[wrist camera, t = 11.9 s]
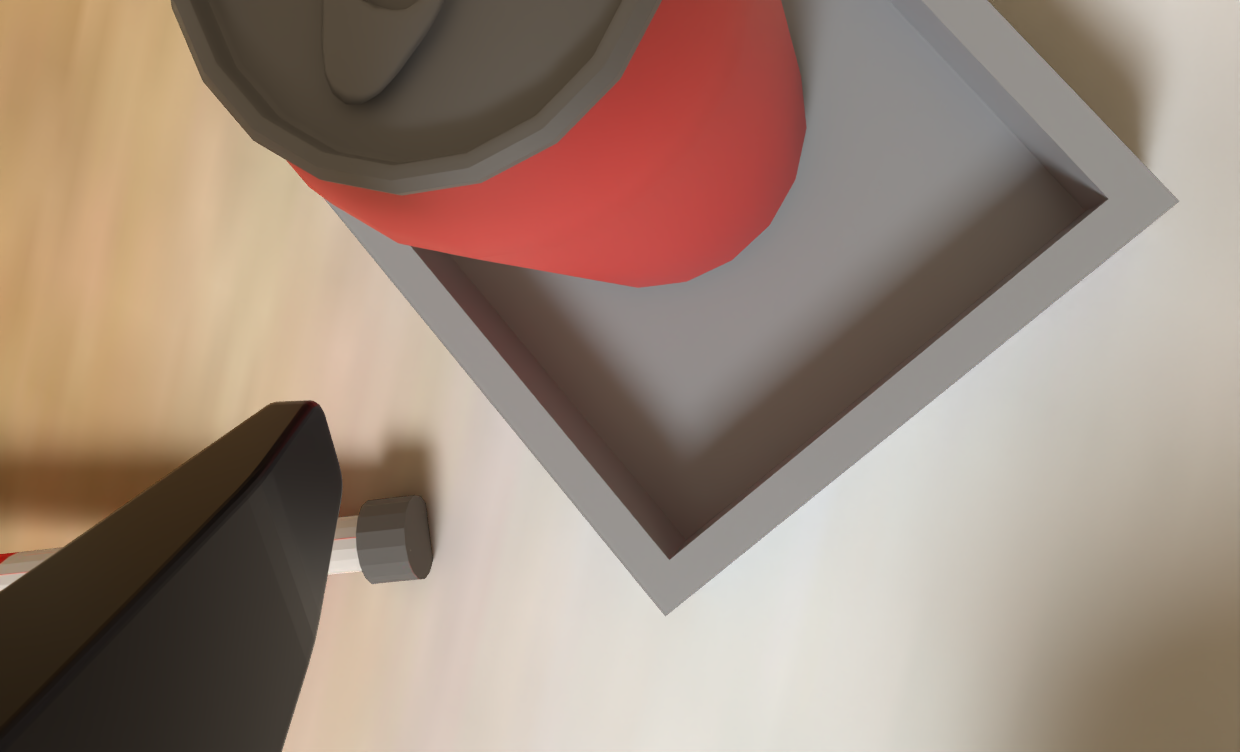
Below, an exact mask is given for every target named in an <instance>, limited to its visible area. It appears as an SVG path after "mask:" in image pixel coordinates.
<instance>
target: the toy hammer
mask: <svg viewBox="0 0 1240 752" xmlns="http://www.w3.org/2000/svg"><path fill="white" fill-rule="evenodd" d="M60 549H62V548H53V549H44V550H35V551H26V552H17V553H7V554H0V591H1V590H3V589H4V588H6V587H7V586H8V585H10V584H11V583H13V582H14V581H16V580H17V579H19V578H20V577H21V576H23V575H24V574H26V573H27V572H29V571H30V570H31V569H33V568H34V567H36V566H37V565H39V564H40V563H42V562H43V561H44V560H46V559H47V558H49V557H50V556H52V555H53V554H54V553H56V552H57V551H59V550H60ZM432 562H433V558H432V550H431V542H430V534H429V527H428V519H427V511H426V503H425V502H424V500H423V499H422V498H421V497H420V496H415V495H413V496H404V497H395V498H386V499H377V500H368V501H367V502H366V503H365V504H364V505H363V506H362V507H361V510H360V513H359V515H356V516H347V517H339V518H338V521H337V526H336V532H335V538H334V543H333V549H332V554H331V560H330V565H329V571H328V575H329V574H339V573H350V572H360V571H362V572H363V574H364V576H365V578H366V579H367V580H368V581H369V582H370V583H371V584H376V583H386V582H396V581H406V580H416V579H425V578H426V577H427V575H428V574H429V572H430V569H431V566H432Z"/></svg>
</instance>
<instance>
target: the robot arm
mask: <svg viewBox="0 0 1240 752" xmlns="http://www.w3.org/2000/svg"><path fill="white" fill-rule="evenodd" d="M341 498H342V475H341V470H340V466H339V462H338V459H337V455H336V452H335V448H334V445H333V441H332V438H331V434H330V431H329V427H328V424H327V420H326V417H325V414H324V412H323V410H322V408H321V407H320V405H319V404H317V403H316V402H314V401H285V402H274V403H270V404H269V405H267V406H266V407H264V408H263V409H261V410H260V411H258V412H257V413H256V414H254V415H253V416H251V417H250V418H248V419H247V420H245V421H244V422H243V423H241V424H240V425H238V426H237V427H235V428H234V429H233V430H231V431H230V432H228V433H227V434H225V435H224V436H223V437H221V438H220V439H218V440H217V441H215V442H214V443H212V444H211V445H210V446H208V447H207V448H205V449H204V450H202V451H201V452H200V453H198V454H197V455H195V456H194V457H192V458H191V459H190V460H188V461H187V462H185V463H184V464H182V465H181V466H179V467H178V468H177V469H175V470H174V471H172V472H171V473H169V474H168V475H167V476H165V477H164V478H162V479H161V480H159V481H158V482H156V483H155V484H154V485H152V486H151V487H149V488H148V489H146V490H145V491H144V492H142V493H141V494H139V495H138V496H136V497H135V498H133V499H132V500H131V501H129V502H128V503H126V504H125V505H123V506H122V507H121V508H119V509H118V510H116V511H115V512H113V513H112V514H110V515H109V516H108V517H106V518H105V519H103V520H102V521H100V522H99V523H98V524H96V525H95V526H93V527H92V528H90V529H89V530H87V531H86V532H85V533H83V534H82V535H80V536H79V537H77V538H76V539H75V540H73V541H72V542H70V543H69V544H67V545H66V546H65V547H63V548H62V549H60V550H59V551H57V552H56V553H54V554H53V555H52V556H50V557H49V558H47V559H46V560H44V561H43V562H42V563H40V564H39V565H37V566H36V567H34V568H33V569H31V570H30V571H29V572H27V573H26V574H24V575H23V576H21V577H20V578H19V579H17V580H16V581H14V582H13V583H11V584H10V585H8V586H7V587H6V588H4V589H3V590H1V591H0V752H282V749H283V746H284V743H285V740H286V736H287V733H288V730H289V727H290V723H291V720H292V717H293V714H294V710H295V707H296V704H297V701H298V698H299V694H300V691H301V688H302V685H303V681H304V678H305V675H306V672H307V668H308V665H309V661H310V658H311V654H312V651H313V647H314V644H315V640H316V635H317V630H318V625H319V620H320V615H321V610H322V604H323V599H324V593H325V588H326V582H327V576H328V571H329V565H330V560H331V554H332V549H333V543H334V538H335V532H336V526H337V521H338V515H339V510H340V504H341Z"/></svg>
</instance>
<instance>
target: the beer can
mask: <svg viewBox="0 0 1240 752" xmlns="http://www.w3.org/2000/svg"><path fill="white" fill-rule="evenodd" d="M171 5H172V9H173V12H174V14H175V16H176V19H177V21H178V23H179V26H180V28H181V31H182V33H183V35H184V38H185V40H186V42H187V45H188V47H189V50H190V52H191V54H192V57H193V59H194V61H195V64H196V66H197V68H198V71H199V73H200V76H201V78H202V80H203V82H204V83H205V84H206V86H207V87H208V88H209V89H210V90H211V91H212V93H213V94H214V95H215V96H216V97H217V98H218V100H219V101H220V102H221V103H222V104H223V105H224V107H225V108H226V109H227V110H228V111H229V112H230V114H231V115H232V116H233V117H234V118H235V120H236V121H237V122H238V123H239V124H240V125H241V127H242V128H243V129H244V130H245V131H246V132H247V134H248V135H249V136H250V137H251V138H252V139H253V141H255V142H257V143H258V144H260V145H262V146H264V147H265V148H267V149H269V150H270V151H272V152H274V153H275V154H277V155H279V156H280V157H282V158H284V159H286V160H287V162H288V163H289V164H290V165H291V166H292V167H293V169H294V170H295V171H296V172H297V173H298V175H299V176H300V177H301V178H302V179H303V180H304V182H305V183H306V184H307V185H308V186H309V187H310V188H311V189H313V190H314V191H315V192H317V193H318V194H319V195H321V196H322V197H323V198H325V199H326V200H327V201H329V202H330V203H331V204H333V205H335V206H336V207H338V208H340V209H341V210H343V211H345V212H346V213H348V214H350V215H351V216H353V217H355V218H356V219H358V220H360V221H361V222H363V223H365V224H367V225H368V226H370V227H372V228H373V229H375V230H377V231H378V232H380V233H382V234H383V235H385V236H387V237H388V238H390V239H392V240H393V241H395V242H397V243H399V244H404V245H409V246H414V247H419V248H424V249H429V250H434V251H438V252H443V253H448V254H453V255H458V256H463V257H468V258H473V259H479V260H484V261H490V262H496V263H501V264H507V265H512V266H518V267H524V268H529V269H535V270H540V271H546V272H552V273H557V274H563V275H569V276H574V277H580V278H585V279H591V280H597V281H602V282H608V283H613V284H619V285H625V286H630V287H636V288H641V287H649V286H657V285H665V284H673V283H681V282H687V281H689V280H691V279H693V278H696V277H698V276H700V275H702V274H704V273H706V272H708V271H710V270H713V269H715V268H717V267H719V266H721V265H723V264H725V263H727V262H729V261H732V260H733V259H734V258H735V257H736V256H737V255H738V254H739V253H740V252H741V251H743V250H744V249H745V248H746V247H747V246H748V245H749V244H750V243H751V242H752V241H753V240H754V239H755V238H756V237H758V236H759V235H760V234H761V233H762V232H763V231H764V230H765V229H766V228H767V227H768V226H769V225H770V224H771V222H772V220H773V219H774V217H775V215H776V213H777V211H778V210H779V208H780V206H781V204H782V203H783V201H784V199H785V197H786V196H787V194H788V192H789V190H790V189H791V187H792V185H793V183H794V181H795V180H796V175H797V171H798V166H799V161H800V157H801V152H802V147H803V142H804V138H805V133H806V128H807V127H806V118H805V108H804V99H803V90H802V80H801V74H800V70H799V66H798V63H797V59H796V55H795V51H794V47H793V44H792V40H791V36H790V32H789V28H788V25H787V21H786V17H785V13H784V9H783V6H782V2H781V0H171Z"/></svg>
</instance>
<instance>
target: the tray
mask: <svg viewBox="0 0 1240 752" xmlns="http://www.w3.org/2000/svg"><path fill="white" fill-rule="evenodd" d="M781 2H782V6H783V9H784V13H785V17H786V21H787V25H788V28H789V32H790V36H791V40H792V44H793V47H794V51H795V55H796V59H797V63H798V66H799V70H800V74H801V80H802V90H803V99H804V108H805V118H806V127H807V128H806V133H805V138H804V142H803V147H802V152H801V157H800V161H799V166H798V171H797V175H796V180H795V181H794V183H793V185H792V187H791V189H790V190H789V192H788V194H787V196H786V197H785V199H784V201H783V203H782V204H781V206H780V208H779V210H778V211H777V213H776V215H775V217H774V219H773V220H772V222H771V224H770V225H769V226H768V227H767V228H766V229H765V230H764V231H763V232H762V233H761V234H760V235H759V236H758V237H756V238H755V239H754V240H753V241H752V242H751V243H750V244H749V245H748V246H747V247H746V248H745V249H744V250H743V251H741V252H740V253H739V254H738V255H737V256H736V257H735V258H734V259H733V260H732V261H729V262H727V263H725V264H723V265H721V266H719V267H717V268H715V269H713V270H710V271H708V272H706V273H704V274H702V275H700V276H698V277H696V278H693V279H691V280H689V281H687V282H681V283H673V284H665V285H657V286H649V287H641V288H636V287H630V286H625V285H619V284H613V283H608V282H602V281H597V280H591V279H585V278H580V277H574V276H569V275H563V274H557V273H552V272H546V271H540V270H535V269H529V268H524V267H518V266H512V265H507V264H501V263H496V262H490V261H484V260H479V259H473V258H468V257H463V256H458V255H453V254H448V253H443V252H438V251H434V250H429V249H424V248H419V247H414V246H409V245H404V244H399V243H397V242H395V241H393V240H392V239H390V238H388V237H387V236H385V235H383V234H382V233H380V232H378V231H377V230H375V229H373V228H372V227H370V226H368V225H367V224H365V223H363V222H361V221H360V220H358V219H356V218H355V217H353V216H351V215H350V214H348V213H346V212H345V211H343V210H341V209H340V208H338V207H336V206H335V205H333V204H331V203H330V202H329V201H327V200H326V199H325V198H324V199H325V200H326V201H327V203H328V204H329V205H330V206H331V208H332V209H333V210H334V211H335V212H336V214H337V215H338V216H339V217H340V219H341V220H342V221H343V222H344V223H345V225H346V226H347V227H348V228H349V230H350V231H351V232H352V233H353V234H354V236H355V237H356V238H357V239H358V241H359V242H360V243H361V244H362V246H363V247H364V248H365V249H366V250H367V252H368V253H369V254H370V255H371V257H372V258H373V259H374V260H375V261H376V263H377V264H378V265H379V266H380V268H381V269H382V270H383V271H384V272H385V274H386V275H387V276H388V277H389V279H390V280H391V281H392V282H393V283H394V285H395V286H396V287H397V288H398V290H399V291H400V292H401V293H402V294H403V296H404V297H405V298H406V299H407V301H408V302H409V303H410V304H411V306H412V307H413V308H414V309H415V310H416V312H417V313H418V314H419V315H420V317H421V318H422V319H423V320H424V321H425V323H426V324H427V325H428V326H429V328H430V329H431V330H432V331H433V332H434V334H435V335H436V336H437V337H438V339H439V340H440V341H441V342H442V343H443V345H444V346H445V347H446V348H447V350H448V351H449V352H450V353H451V354H452V356H453V357H454V358H455V359H456V361H457V362H458V363H459V364H460V366H461V367H462V368H463V369H464V370H465V372H466V373H467V374H468V375H469V377H470V378H471V379H472V380H473V381H474V383H475V384H476V385H477V386H478V388H479V389H480V390H481V391H482V392H483V394H484V395H485V396H486V397H487V399H488V400H489V401H490V402H491V403H492V405H493V406H494V407H495V408H496V410H497V411H498V412H499V413H500V415H501V416H502V417H503V418H504V419H505V421H506V422H507V423H508V424H509V426H510V427H511V428H512V429H513V430H514V432H515V433H516V434H517V435H518V437H519V438H520V439H521V440H522V441H523V443H524V444H525V445H526V446H527V448H528V449H529V450H530V451H531V452H532V454H533V455H534V456H535V457H536V459H537V460H538V461H539V462H540V463H541V465H542V466H543V467H544V468H545V470H546V471H547V472H548V473H549V475H550V476H551V477H552V478H553V479H554V481H555V482H556V483H557V484H558V486H559V487H560V488H561V489H562V490H563V492H564V493H565V494H566V495H567V497H568V498H569V499H570V500H571V501H572V503H573V504H574V505H575V506H576V508H577V509H578V510H579V511H580V512H581V514H582V515H583V516H584V517H585V519H586V520H587V521H588V522H589V523H590V525H591V526H592V527H593V528H594V530H595V531H596V532H597V533H598V535H599V536H600V537H601V538H602V539H603V541H604V542H605V543H606V544H607V546H608V547H609V548H610V549H611V550H612V552H613V553H614V554H615V555H616V557H617V558H618V559H619V560H620V561H621V563H622V564H623V565H624V566H625V568H626V569H627V570H628V571H629V572H630V574H631V575H632V576H633V577H634V579H635V580H636V581H637V582H638V583H639V585H640V586H641V587H642V588H643V590H644V591H645V592H646V593H647V595H648V596H649V597H650V598H651V599H652V601H653V602H654V603H655V604H656V606H657V607H658V608H659V609H660V610H661V612H662V613H663V614H664V615H665V616H666V615H668V614H669V613H670V612H671V611H673V610H674V609H675V608H676V607H678V606H679V605H680V604H681V603H683V602H684V601H685V600H686V599H688V598H689V597H690V596H691V595H692V594H694V593H695V592H696V591H697V590H699V589H700V588H701V587H702V586H704V585H705V584H706V583H707V582H709V581H710V580H711V579H712V578H714V577H715V576H716V575H717V574H718V573H720V572H721V571H722V570H723V569H725V568H726V567H727V566H728V565H730V564H731V563H732V562H733V561H735V560H736V559H737V558H738V557H740V556H741V555H742V554H743V553H744V552H746V551H747V550H748V549H749V548H751V547H752V546H753V545H754V544H756V543H757V542H758V541H759V540H761V539H762V538H763V537H764V536H766V535H767V534H768V533H769V532H770V531H772V530H773V529H774V528H775V527H777V526H778V525H779V524H780V523H782V522H783V521H784V520H785V519H787V518H788V517H789V516H790V515H792V514H793V513H794V512H795V511H796V510H798V509H799V508H800V507H801V506H803V505H804V504H805V503H806V502H808V501H809V500H810V499H811V498H813V497H814V496H815V495H816V494H818V493H819V492H820V491H821V490H822V489H824V488H825V487H826V486H827V485H829V484H830V483H831V482H832V481H834V480H835V479H836V478H837V477H839V476H840V475H841V474H842V473H844V472H845V471H846V470H847V469H848V468H850V467H851V466H852V465H853V464H855V463H856V462H857V461H858V460H860V459H861V458H862V457H863V456H865V455H866V454H867V453H868V452H870V451H871V450H872V449H873V448H874V447H876V446H877V445H878V444H879V443H881V442H882V441H883V440H884V439H886V438H887V437H888V436H889V435H891V434H892V433H893V432H894V431H896V430H897V429H898V428H899V427H900V426H902V425H903V424H904V423H905V422H907V421H908V420H909V419H910V418H912V417H913V416H914V415H915V414H917V413H918V412H919V411H920V410H922V409H923V408H924V407H925V406H926V405H928V404H929V403H930V402H931V401H933V400H934V399H935V398H936V397H938V396H939V395H940V394H941V393H943V392H944V391H945V390H946V389H948V388H949V387H950V386H951V385H952V384H954V383H955V382H956V381H957V380H959V379H960V378H961V377H962V376H964V375H965V374H966V373H967V372H969V371H970V370H971V369H972V368H974V367H975V366H976V365H977V364H978V363H980V362H981V361H982V360H983V359H985V358H986V357H987V356H988V355H990V354H991V353H992V352H993V351H995V350H996V349H997V348H998V347H1000V346H1001V345H1002V344H1003V343H1004V342H1006V341H1007V340H1008V339H1009V338H1011V337H1012V336H1013V335H1014V334H1016V333H1017V332H1018V331H1019V330H1021V329H1022V328H1023V327H1024V326H1026V325H1027V324H1028V323H1029V322H1030V321H1032V320H1033V319H1034V318H1035V317H1037V316H1038V315H1039V314H1040V313H1042V312H1043V311H1044V310H1045V309H1047V308H1048V307H1049V306H1050V305H1052V304H1053V303H1054V302H1055V301H1056V300H1058V299H1059V298H1060V297H1061V296H1063V295H1064V294H1065V293H1066V292H1068V291H1069V290H1070V289H1071V288H1073V287H1074V286H1075V285H1076V284H1078V283H1079V282H1080V281H1081V280H1082V279H1084V278H1085V277H1086V276H1087V275H1089V274H1090V273H1091V272H1092V271H1094V270H1095V269H1096V268H1097V267H1099V266H1100V265H1101V264H1102V263H1104V262H1105V261H1106V260H1107V259H1108V258H1110V257H1111V256H1112V255H1113V254H1115V253H1116V252H1117V251H1118V250H1120V249H1121V248H1122V247H1123V246H1125V245H1126V244H1127V243H1128V242H1130V241H1131V240H1132V239H1133V238H1134V237H1136V236H1137V235H1138V234H1139V233H1141V232H1142V231H1143V230H1144V229H1146V228H1147V227H1148V226H1149V225H1151V224H1152V223H1153V222H1154V221H1156V220H1157V219H1158V218H1159V217H1160V216H1162V215H1163V214H1164V213H1165V212H1167V211H1168V210H1169V209H1170V208H1172V207H1173V206H1174V205H1175V204H1177V203H1178V202H1179V200H1178V199H1177V198H1176V197H1175V196H1174V195H1173V194H1172V193H1171V192H1170V191H1169V190H1168V189H1167V188H1166V187H1165V186H1164V185H1163V184H1162V183H1161V182H1160V181H1159V180H1158V178H1157V177H1156V176H1155V175H1154V174H1153V173H1152V172H1151V171H1150V170H1149V169H1148V168H1147V167H1146V166H1145V165H1144V164H1143V163H1142V162H1141V161H1140V160H1139V159H1138V158H1137V156H1136V155H1135V154H1134V153H1133V152H1132V151H1131V150H1130V149H1129V148H1128V147H1127V146H1126V145H1125V144H1124V143H1123V142H1122V141H1121V140H1120V139H1119V138H1118V137H1117V135H1116V134H1115V133H1114V132H1113V131H1112V130H1111V129H1110V128H1109V127H1108V126H1107V125H1106V124H1105V123H1104V122H1103V121H1102V120H1101V119H1100V118H1099V117H1098V116H1097V115H1096V113H1095V112H1094V111H1093V110H1092V109H1091V108H1090V107H1089V106H1088V105H1087V104H1086V103H1085V102H1084V101H1083V100H1082V99H1081V98H1080V97H1079V96H1078V95H1077V94H1076V93H1075V91H1074V90H1073V89H1072V88H1071V87H1070V86H1069V85H1068V84H1067V83H1066V82H1065V81H1064V80H1063V79H1062V78H1061V77H1060V76H1059V75H1058V74H1057V73H1056V72H1055V71H1054V69H1053V68H1052V67H1051V66H1050V65H1049V64H1048V63H1047V62H1046V61H1045V60H1044V59H1043V58H1042V57H1041V56H1040V55H1039V54H1038V53H1037V52H1036V51H1035V50H1034V49H1033V47H1032V46H1031V45H1030V44H1029V43H1028V42H1027V41H1026V40H1025V39H1024V38H1023V37H1022V36H1021V35H1020V34H1019V33H1018V32H1017V31H1016V30H1015V29H1014V28H1013V26H1012V25H1011V24H1010V23H1009V22H1008V21H1007V20H1006V19H1005V18H1004V17H1003V16H1002V15H1001V14H1000V13H999V12H998V11H997V10H996V9H995V8H994V7H993V6H992V4H991V3H990V2H989V1H988V0H781Z"/></svg>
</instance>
